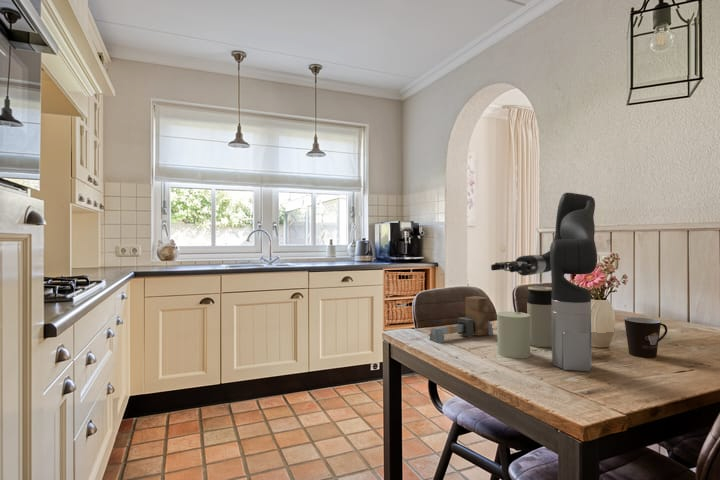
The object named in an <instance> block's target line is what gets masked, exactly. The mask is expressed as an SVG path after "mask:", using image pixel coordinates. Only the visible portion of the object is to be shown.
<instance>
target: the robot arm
mask: <svg viewBox="0 0 720 480" xmlns="http://www.w3.org/2000/svg"><path fill="white" fill-rule="evenodd" d="M595 201H596V200H595V198H594V197H592V196H591V195H588V194H582V193H581V194H580V193H575V192H564V193H563V194H562V195H561V197H560V198H559V202H558V206H557V211H556V219H555V220H556V221H555V233H554V238H553V240H552V242H551V243H550V249H549V251H547V252H545V253H543V254H528V255H521V256H518V257H517V258H516V259H515V260H511V261H501V262H495V263H493V264H491V266H490V270H491V271H502V270H503V271H504V272H510V273H515V272H516V273H517V274H518V275H520V276H530V275H531V276H532V275H538V274H543V273H548V272H550V275H551V277H550V278H551V288H552V347H551V363H552V365H553V366H554V367H557V368H560V369H562V370H565V371H579V372H580V371H581V372H582V371H583V372H591V369H592V367H593V365H592V364H593V363H592V354H593V353H592V293H591V291H590V289H588V288H586V287H583V286H580V285H577V284H574V283H572V282H571V281H570V280H568V279H567V278H566V277H565V275H588V274H592V273H593V272H594V271H595V270H596V268H597V264H598V252H597V246H596V242H595V234H596V233H595V232H596V229H595V227H596V226H595V219H594V217H595V210H596V209H595V208H596V202H595Z"/></svg>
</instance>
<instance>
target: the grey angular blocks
mask: <svg viewBox="0 0 720 480" xmlns="http://www.w3.org/2000/svg"><path fill="white" fill-rule="evenodd" d="M485 335H487V336H492V335H494V328H493V323H490V324H489V334H485ZM429 340H430V341H432V342H436V343H438V344H441V343H445V334H444V331H442V330H440V331H437V336H436V335H433V334H432V328H430V332H429Z"/></svg>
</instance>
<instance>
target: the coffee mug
mask: <svg viewBox="0 0 720 480" xmlns="http://www.w3.org/2000/svg"><path fill="white" fill-rule="evenodd" d="M623 321H624V326H625V327H624V328H625V333H626V340H627V348H628V354H629V355H630V356H632V357H636V358H640V359H641V358H642V359H656V358H657V357H658V356H657V355H658V349H659V342H661V341H662V340H663V339H664V338H665V337H666V336H667V334H668V326H667V325H666V324H665V323H662V321H661V320H659V319H653V318H648V317H639V316H638V317H637V316H636V317H635V316H629V317H628V316H627V317H624V318H623ZM661 326H662V327H663V328H664V333H663V334H662V335H661V336H660V333H661Z"/></svg>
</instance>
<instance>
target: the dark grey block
mask: <svg viewBox="0 0 720 480" xmlns="http://www.w3.org/2000/svg"><path fill="white" fill-rule="evenodd" d="M462 323H466V331H464V332H457V334H458V335H461V336H464V337H468V338H469V337H474V334H473V319H468V318H465V316H463V317H461V316H460V317H457V324H462Z"/></svg>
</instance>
